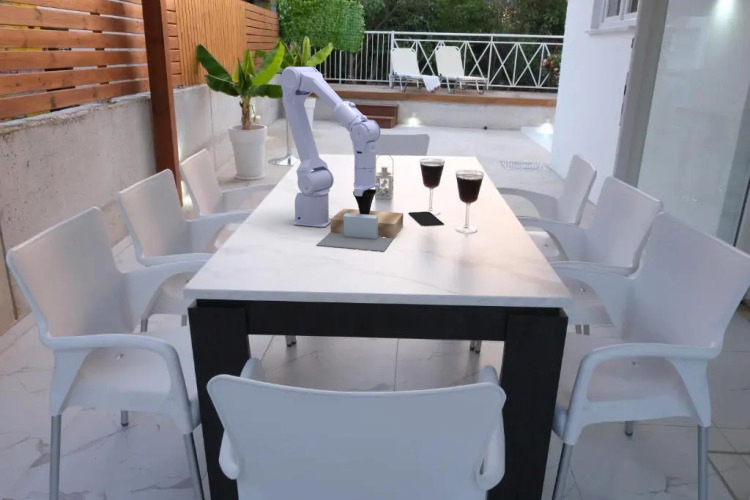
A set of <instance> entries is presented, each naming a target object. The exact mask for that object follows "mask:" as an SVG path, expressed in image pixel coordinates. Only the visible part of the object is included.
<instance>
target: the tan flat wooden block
mask: <svg viewBox="0 0 750 500" xmlns="http://www.w3.org/2000/svg"><path fill="white" fill-rule="evenodd" d="M345 213H352V214H360V212H359V209H356V208H354V209H353V208H342V209H341V210H339V212H338V213H336V214H335V215H333V216H332V217H331V218H330V219H331V223H330V233H337V234H344V221H343V216H344V214H345ZM369 215H378V237H382V238H383V237H386V238H393V239H395V238H396V237H397V235H398V234H399V233H400V231H401V230H402V228H404V213H403V212H394V211H381V210H379V211H378V210H370V213H369Z"/></svg>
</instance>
